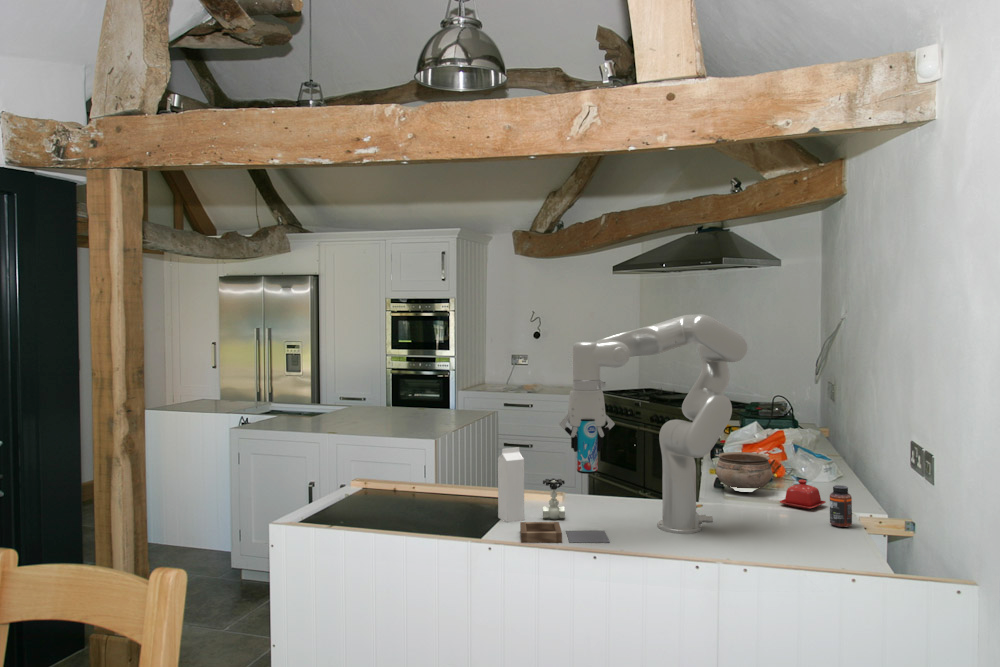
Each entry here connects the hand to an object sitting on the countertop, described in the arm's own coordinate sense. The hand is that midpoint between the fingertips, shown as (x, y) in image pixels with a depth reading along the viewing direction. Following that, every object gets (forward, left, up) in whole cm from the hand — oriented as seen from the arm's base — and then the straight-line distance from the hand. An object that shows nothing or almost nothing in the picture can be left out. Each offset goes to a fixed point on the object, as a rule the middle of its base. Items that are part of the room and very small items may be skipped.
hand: (587, 450), depth 202 cm
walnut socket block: (+13, 0, -24) cm, 28 cm away
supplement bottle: (-76, -12, -25) cm, 81 cm away
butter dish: (-74, -36, -25) cm, 86 cm away
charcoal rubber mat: (0, 0, -24) cm, 24 cm away
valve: (+8, -19, -25) cm, 32 cm away
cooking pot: (-62, -56, -25) cm, 87 cm away
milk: (+21, -19, -25) cm, 38 cm away
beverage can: (0, 0, -6) cm, 6 cm away
